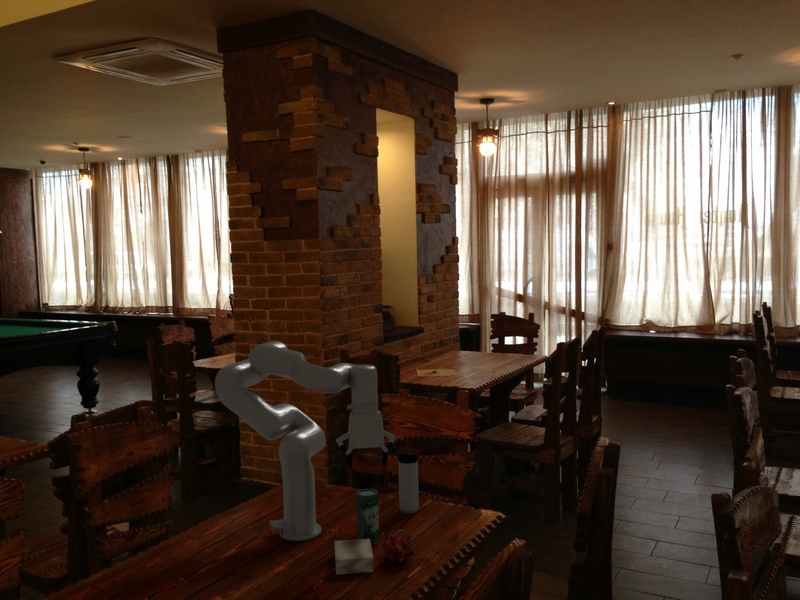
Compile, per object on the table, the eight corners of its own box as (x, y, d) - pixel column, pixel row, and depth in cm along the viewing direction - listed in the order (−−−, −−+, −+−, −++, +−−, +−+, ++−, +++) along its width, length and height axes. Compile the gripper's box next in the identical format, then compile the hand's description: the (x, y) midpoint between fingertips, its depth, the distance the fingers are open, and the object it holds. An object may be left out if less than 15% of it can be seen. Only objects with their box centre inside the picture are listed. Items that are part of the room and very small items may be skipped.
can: (371, 548, 201) (369, 497, 200) (354, 543, 204) (352, 493, 203) (382, 540, 206) (381, 490, 205) (365, 536, 209) (364, 487, 208)
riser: (336, 574, 185) (335, 560, 185) (335, 554, 197) (334, 541, 197) (373, 571, 186) (373, 557, 186) (370, 552, 198) (369, 538, 198)
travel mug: (396, 513, 227) (394, 453, 225) (403, 506, 233) (402, 447, 231) (414, 515, 224) (413, 454, 223) (421, 508, 231) (420, 449, 229)
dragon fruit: (400, 553, 200) (401, 579, 189) (376, 538, 199) (375, 563, 188) (417, 531, 199) (419, 556, 187) (393, 516, 198) (393, 540, 186)
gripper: (335, 412, 197) (337, 471, 199) (396, 409, 199) (398, 467, 201) (334, 406, 205) (336, 463, 206) (393, 403, 207) (395, 459, 208)
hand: (367, 465), depth 203 cm, fingers open, 9 cm apart
